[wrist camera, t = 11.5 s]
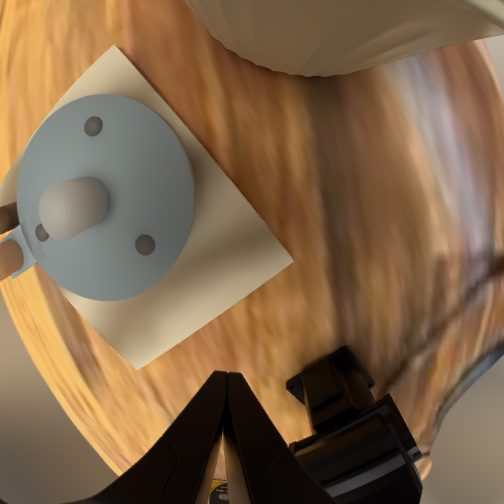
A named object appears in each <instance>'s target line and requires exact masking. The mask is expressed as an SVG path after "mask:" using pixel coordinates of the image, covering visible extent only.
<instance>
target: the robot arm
mask: <svg viewBox="0 0 504 504" xmlns="http://www.w3.org/2000/svg"><path fill="white" fill-rule="evenodd" d="M344 352H346V353H344ZM343 353H344V354H343ZM290 385H293V386H290ZM374 385H375V382H374V380H373V379H372V378H371V376H370V375H369V374H368V372H367V371H366V370H365V368H364V367H363V366H362V364H361V363H360V362H359V360H358V359H357V358H356V357H355V355H354V354H353V353H352V351H351V350H350V349H349V348H348V347H342V348H340V349H339V350H338V351H336V352H334V353H333V354H331V355H330V356H328V357H327V358H325V359H324V360H322V361H321V362H319V363H317V364H316V365H314V366H313V367H311V368H309V369H308V370H306V371H304V372H303V373H301V374H299V375H298V376H296V377H294V378H293V379H291V380H289V381H288V382H287V383H286V389H287V390H288V391H289V392H290V393H291V394H292V395H294V396H295V397H296V398H297V399H298V400H299V401H300V402H302V403H303V404H304V405H305V407H306V411H307V415H308V419H309V424H310V428H311V432H312V436H309V437H307V438H305V439H302V440H300V441H298V442H296V441H295V442H293V443H290V444H289V447H287V446H288V445H287V444H286V442H285V441H284V439H283V438H282V436H281V435H280V433H279V432H278V430H277V429H276V427H275V426H274V424H273V423H272V421H271V420H270V418H269V417H268V415H267V413H266V412H265V410H264V409H263V407H262V406H261V404H260V402H259V401H258V399H257V398H256V396H255V394H254V393H253V391H252V390H251V388H250V386H249V385H248V383H247V381H246V380H245V378H244V376H243V375H242V374H241V373H238V372H229V373H227V372H226V371H217V370H215V371H214V372H213V373H212V374H211V375H210V377H209V378H208V379H207V380H206V382H205V383H204V384H203V385H202V387H201V388H200V389H199V391H198V392H197V393H196V394H195V396H194V397H193V398H192V399H191V401H190V402H189V403H188V404H187V406H186V407H185V408H184V409H183V410H182V412H181V413H180V414H179V415H178V417H177V418H176V419H175V420H174V421H173V423H172V424H171V425H170V426H169V428H168V429H167V430H166V431H165V432H164V434H163V435H162V437H160V438H159V439H158V441H157V442H156V443H155V444H154V445H153V446H152V447H151V448H150V450H149V451H148V452H147V453H146V454H145V455H144V456H143V457H142V458H141V459H140V460H138V461H137V462H136V463H135V464H134V465H133V466H132V467H131V468H129V469H128V470H127V471H126V472H124V473H123V474H122V475H121V476H120V477H118V478H117V479H116V480H115V481H113V482H112V483H111V484H110V485H108V486H107V487H106V488H104V489H103V490H102V491H100V492H99V493H97V494H96V495H93V496H91V497H89V498H86V499H82V500H78V501H73V502H68V503H63V504H208V500H209V495H210V491H211V486H212V482H213V477H214V473H215V468H216V464H217V459H218V454H219V450H220V445H221V440H222V434H223V444H224V455H225V466H226V476H227V486H228V495H229V504H419V503H420V499H421V494H422V488H423V487H422V482H421V477H420V474H419V472H418V470H417V468H416V466H415V464H414V463H415V462H416V461H418V460H420V459H421V458H423V456H422V454H421V452H420V450H419V448H418V446H417V444H416V442H415V441H414V439H413V437H412V435H411V433H410V431H409V429H408V427H407V425H406V423H405V421H404V419H403V418H402V416H401V414H400V412H399V410H398V408H397V406H396V405H395V403H394V401H393V399H392V397H391V396H390V394H389V393H388V394H387V395H385V396H384V397H383V398H382V399H381V400H379V401H377V402H375V400H374V398H373V396H372V394H371V392H370V389H371V388H372V387H373V386H374ZM0 504H8V503H6V502H5V501H3V500H2V499H0Z"/></svg>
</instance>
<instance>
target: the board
mask: <svg viewBox="0 0 504 504" xmlns="http://www.w3.org/2000/svg"><path fill="white" fill-rule="evenodd" d="M95 94H114V95H120V96H124V97H127V98H130V99H133V100H136V101H138V102H140V103H142V104H143V105H145V106H147V107H149V108H151V109H153V110H154V111H155V112H156V113H158V114H159V115H160V116H162V117H163V118H164V119H165V120H166V121H167V122H168V123H169V124H170V125H171V126H172V128H173V129H174V130H175V132H176V133H177V135H178V136H179V137H180V139H181V141H182V143H183V145H184V147H185V149H186V151H187V153H188V156H189V159H190V162H191V165H192V169H193V174H194V178H195V189H196V205H195V213H194V220H193V224H192V227H191V231H190V235H189V237H188V239H187V242H186V244H185V246H184V248H183V250H182V251H181V253H180V255H179V257H178V258H177V260H176V261H175V263H174V264H173V266H172V267H171V268H170V270H169V271H168V272H167V273H166V275H165V276H164V277H163V278H162V279H161V280H159V281H158V282H157V283H156V284H155V285H154V286H152V287H151V288H149V289H148V290H147V291H145V292H143V293H141V294H139V295H137V296H134V297H131V298H128V299H124V300H118V301H97V300H91V299H87V298H84V297H81V296H78V295H76V294H74V293H72V292H70V291H68V290H66V289H65V288H63V287H62V286H60V285H59V284H58V283H56V282H55V281H54V280H53V279H52V278H50V277H49V278H50V279H51V280H52V281H53V283H54V284H55V285H56V286H57V288H58V289H59V290H60V291H61V292H62V294H63V295H64V296H65V297H66V298H67V300H68V301H69V302H70V303H71V304H72V305H73V306H74V308H75V309H76V310H77V311H78V312H79V313H80V314H81V315H82V317H83V318H84V319H85V320H86V321H87V322H88V323H89V324H90V325H91V326H92V327H93V328H94V329H95V330H96V331H97V332H98V333H99V334H100V335H101V337H102V338H103V339H104V340H105V341H106V342H107V343H108V344H109V345H111V346H112V347H113V348H114V349H115V350H116V351H117V352H118V353H119V354H120V355H121V356H122V357H123V358H124V359H125V360H126V361H127V362H128V363H130V364H131V365H132V366H133V367H134V368H135V369H136V370H139V369H140V368H142V367H143V366H145V365H146V364H148V363H149V362H151V361H153V360H154V359H156V358H157V357H159V356H160V355H162V354H163V353H165V352H166V351H168V350H169V349H171V348H172V347H173V346H175V345H176V344H178V343H179V342H181V341H182V340H184V339H185V338H187V337H188V336H190V335H191V334H193V333H194V332H196V331H197V330H198V329H200V328H201V327H203V326H204V325H206V324H207V323H209V322H210V321H212V320H213V319H214V318H216V317H217V316H219V315H220V314H222V313H223V312H224V311H226V310H227V309H229V308H230V307H232V306H233V305H234V304H236V303H237V302H239V301H240V300H241V299H243V298H244V297H246V296H247V295H249V294H250V293H251V292H253V291H254V290H256V289H257V288H258V287H260V286H261V285H263V284H264V283H265V282H267V281H268V280H269V279H271V278H272V277H274V276H275V275H276V274H278V273H279V272H280V271H282V270H283V269H285V268H286V267H287V266H289V265H290V264H291V263H293V262H294V260H293V258H292V256H291V255H290V254H289V252H288V251H287V250H286V249H285V247H284V246H283V245H282V243H281V242H280V241H279V240H278V238H277V237H276V236H275V234H274V233H273V232H272V231H271V229H270V228H269V227H268V225H267V224H266V223H265V222H264V220H263V219H262V218H261V217H260V215H259V214H258V213H257V212H256V210H255V209H254V208H253V207H252V205H251V204H250V203H249V202H248V200H247V199H246V198H245V197H244V195H243V194H242V193H241V192H240V190H239V189H238V188H237V187H236V185H235V184H234V183H233V182H232V180H231V179H230V178H229V177H228V175H227V174H226V173H225V172H224V171H223V169H222V168H221V167H220V166H219V164H218V163H217V162H216V161H215V160H214V158H213V157H212V156H211V155H210V153H209V152H208V151H207V150H206V149H205V147H204V146H203V145H202V144H201V143H200V141H199V140H198V139H197V138H196V137H195V135H194V134H193V133H192V132H191V131H190V129H189V128H188V127H187V126H186V125H185V123H184V122H183V121H182V120H181V119H180V118H179V116H178V115H177V114H176V113H175V112H174V110H173V109H172V108H171V107H170V106H169V105H168V103H167V102H166V101H165V100H164V99H163V98H162V96H161V95H160V94H159V93H158V92H157V91H156V90H155V88H154V87H153V86H152V85H151V84H150V83H149V81H148V80H147V79H146V78H145V77H144V76H143V75H142V73H141V72H140V71H139V70H138V69H137V68H136V67H135V66H134V64H133V63H132V62H131V61H130V60H129V59H128V58H127V57H126V55H125V54H124V53H123V52H122V51H121V50H120V49H119V48H118V47H117V46H116V45H113V46H112V47H111V48H109V49H108V50H107V51H106V52H105V53H104V54H103V55H102V56H101V57H100V58H99V59H98V60H97V61H96V62H95V63H93V64H92V65H91V66H90V67H89V68H88V69H87V70H86V71H85V72H84V74H83V75H82V76H81V77H80V78H79V79H78V80H77V81H76V82H75V83H74V84H73V85H72V86H71V87H70V89H69V90H68V91H67V92H66V93H65V94H64V95H63V96H62V98H61V99H60V100H59V101H58V102H57V104H56V105H55V106H54V107H53V108H52V110H51V111H50V112H49V113H48V115H47V116H46V117H45V118H44V120H43V121H42V122H41V124H40V125H39V126H38V128H37V129H36V130H35V132H34V133H33V135H32V136H31V137H30V139H29V140H28V142H27V143H26V145H25V146H24V148H23V149H22V151H21V152H20V154H19V155H18V157H17V158H16V160H15V161H14V163H13V165H12V166H11V168H10V170H9V171H8V173H7V175H6V176H5V178H4V180H3V181H2V183H1V185H0V206H1V207H0V234H3V233H5V232H7V231H10V230H12V229H15V228H16V227H17V226H19V225H20V222H19V217H18V211H17V182H18V175H19V170H20V166H21V162H22V159H23V157H24V154H25V151H26V149H27V147H28V145H29V143H30V141H31V139H32V138H33V136H34V135H35V133H36V132H37V130H38V129H39V127H40V126H41V125H42V124H43V123H44V122H45V120H46V119H47V118H49V117H50V116H51V115H52V114H53V113H54V112H55V111H57V110H58V109H59V108H61V107H62V106H64V105H66V104H68V103H69V102H71V101H73V100H76V99H79V98H82V97H85V96H89V95H95Z"/></svg>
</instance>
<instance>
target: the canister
mask: <svg viewBox="0 0 504 504" xmlns="http://www.w3.org/2000/svg"><path fill="white" fill-rule="evenodd" d="M184 2H185V3H186V4H187V6H188V7H189V8H190V9H191V11H192V12H193V13H194V15H195V16H196V17H197V19H198V20H199V21H200V23H201V24H202V25H203V26H204V27H205V28H206V29H207V30H208V32H209V33H210V34H211V35H212V37H214V38H215V39H217V40H219V41H220V42H221V43H222V44H223V46H224V47H225V48H226V49H229V50H232V51H233V52H235V53H236V54H238V56H239V57H240V58H243V59H247V60H250V61H251V62H253V63H254V64H255V65H258V66H264V67H266V68H269V69H271V70H272V71H281V72H285V73H287V74H289V75H303V76H306V77H312V76H322V77H329V76H332V75H345V74H349V73H352V72H355V71H360V70H364V69H368V68H371V67H374V66H377V65H381V64H384V63H388V62H391V61H395V60H398V59H401V58H405V57H408V56H412V55H415V54H419V53H422V52H425V51H429V50H433V49H436V48H440V47H444V46H448V45H453V44H457V43H462V42H467V41H472V40H478V39H483V38H488V37H493V36H498V35H504V0H184Z"/></svg>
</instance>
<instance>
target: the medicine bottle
mask: <svg viewBox="0 0 504 504" xmlns="http://www.w3.org/2000/svg"><path fill="white" fill-rule="evenodd" d="M208 504H229V495H228V486H227V481H222V480H213V482H212V486H211V491H210V495H209V500H208Z"/></svg>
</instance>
